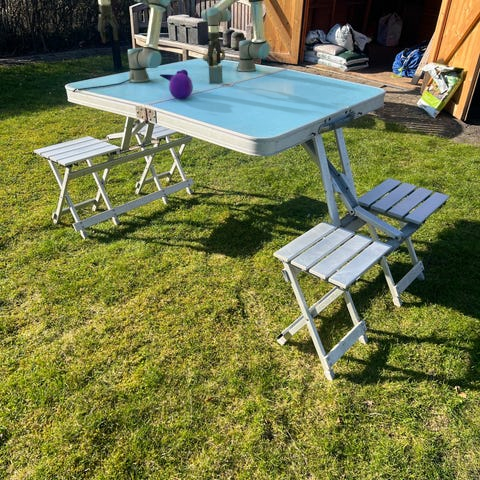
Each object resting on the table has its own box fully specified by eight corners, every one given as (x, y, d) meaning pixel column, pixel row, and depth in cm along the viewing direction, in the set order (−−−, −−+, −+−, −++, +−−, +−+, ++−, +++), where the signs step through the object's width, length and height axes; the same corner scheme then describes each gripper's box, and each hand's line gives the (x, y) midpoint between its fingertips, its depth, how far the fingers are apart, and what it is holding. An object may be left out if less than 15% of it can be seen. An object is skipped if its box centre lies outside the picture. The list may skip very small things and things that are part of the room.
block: (219, 83, 325) (218, 67, 319) (209, 83, 328) (208, 66, 322) (222, 82, 330) (222, 65, 325) (212, 81, 333) (212, 65, 327)
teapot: (206, 68, 381) (205, 49, 373) (200, 66, 390) (199, 47, 382) (228, 65, 390) (227, 47, 383) (221, 64, 399) (221, 45, 391)
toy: (183, 91, 304) (192, 105, 283) (157, 86, 297) (165, 100, 276) (187, 67, 296) (198, 79, 275) (161, 62, 289) (170, 74, 268)
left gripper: (98, 6, 272) (104, 43, 283) (121, 3, 292) (125, 39, 303) (87, 6, 274) (94, 43, 285) (111, 3, 294) (116, 38, 305)
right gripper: (211, 34, 301) (213, 68, 312) (225, 30, 321) (226, 62, 332) (201, 34, 303) (203, 67, 314) (215, 30, 323) (216, 61, 334)
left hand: (110, 41), depth 294 cm, fingers open, 13 cm apart
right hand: (215, 64), depth 323 cm, fingers open, 13 cm apart
